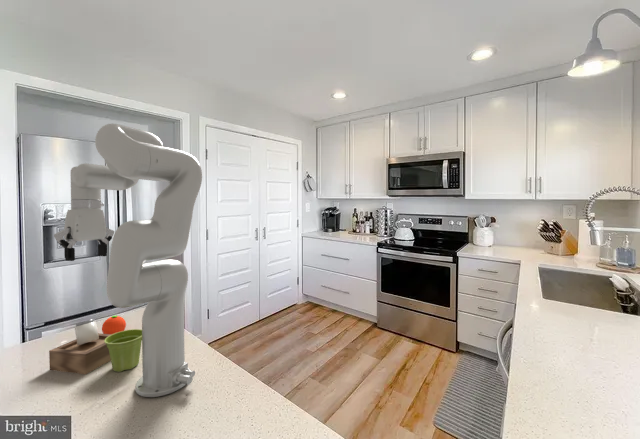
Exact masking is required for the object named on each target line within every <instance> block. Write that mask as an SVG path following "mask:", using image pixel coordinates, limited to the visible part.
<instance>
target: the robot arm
mask: <svg viewBox="0 0 640 439" xmlns="http://www.w3.org/2000/svg"><path fill="white" fill-rule="evenodd" d="M94 140H95V141H94V143H95V144H94V145H95V147H96V150H97V152H98V153H99V155H100V156H101V158H102V159H104V163H105V165H103V164H94V163H86V162H85V163H81V164H78V165H77V166H73V167H71V169H70V209H67V212H66V214H65V215H66V216H65V220H64V229H62V230H60V231H58V232H56V233H54V234H53V237H54V239H55V240H56V241H57V244H59V246H61V247H62V248H63V249H64V253H63V254H64V259H65V261H67V262H73V261H75V260H76V253H75V252H76V249H75V247H74V246H75V244H76V243H77V242H84V241H85V242H87V241H88V242H89V241H97V242H98V245H97V256H98V257H107V256H108V245H109V244H110V241H112V243H111V247H110V255H109V256H110V257H109V263H108V264H109V265H108V272H107V280H106V295H107V299H108V300H109V302H110V304H111V305H112V306H114V307H116V308H119V309H121V308H122V309H125V308H131V307H134V306H138V305H143V304H146V306H145V308H144V311H143V313H142V318H141V330H142V342H141V347H142V348H141V351H142V352H141V354H142V355H141V357H142V358H141V360H142V363H141V364H142V376H141V377H140V378H138V380H137V381H136V382H135V392H136V394H137V395H139V396H141V397H144V398H145V397H146V398H155V397H156V398H157V397H162V396H166V395H169V394H172V393H174V392H176V391H179V390H180V389H182V388H183V387H185V386H186V385H191V383H192V382H193V379H194V378H193V377H194V376H196V375H195V374H196V372H195V370H191V369H190V368H189V365H188V364H189V362H186V361H185V298H186V291H187V286H188V281H189V273H188V269H187V266H185V264H184V263H183V262H181V261H180V260H178V259H168V258H173V257H177V256H181V255H182V254H183V253H184V252H185V250H186V248H187V246H188V242H189V237H190V232H191V224H192V219H193V213H194V207H195V204H196V200H197V197H198V195H199V192H200V190H201V186H202V182H203V171H202V170H203V169H202V167H201V164H200V162H199V161H198V159H197V158H196V157H195V156H193V155H192V154H190V153H188V152H185V151H184V150H179V149H176V148H171V147H166V146H164V145H163V142H162V141H161V139H160V138H159V137H158V136H157V135H155V134H153V133H152V132H149V131H146V130H143V129H138V128H133V127H130V126H126V125H123V124H117V123H107V124H104V125H103V126H101V127H100V128H99V130H97V133H96V135H95V139H94ZM139 180H142V181H143V180H144V181H145V180H146V181H154V182H166V183H169V184H168V185H166V187H165V188H164V189H163V190H162V191H161V192H160V193H159V195H158V196H157V197H156V199H155V203H154V209H153V210H154V211H153V214H152V217H151V218H149V219H135V220H129V221H125V222H123V223H122V224H120V225H119V226H118V227H117V229H116V230H113V229H111V228H109V227H107V225H106V219H105V213H104V210H103V209H102V207H104V206H105V203H104V202H102V195H101V194H102V190H105V191H106V190H108V191H109V190H110V191H125V190H128V189H130V188H132V187H134V186H135V185H136V184H138V183H139Z"/></svg>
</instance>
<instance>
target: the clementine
mask: <svg viewBox="0 0 640 439" xmlns="http://www.w3.org/2000/svg"><path fill="white" fill-rule="evenodd" d="M126 326H127V322H126V320H125V318H124V317H122V316H120V315H112V316H110V317H108V318H107V319H105V321H103V323H102V327H101V332H102V334H114V333H117V332H121V331H125V329H126V328H127V327H126Z"/></svg>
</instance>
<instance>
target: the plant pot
mask: <svg viewBox="0 0 640 439" xmlns="http://www.w3.org/2000/svg"><path fill="white" fill-rule="evenodd" d="M104 342H105V344H107V347H108V349H109V353H110V358H111V361H110V362H111V363H110V364H111V368H112V370H113V371H114V372H123V371H126V370H131V369H133V368H135V367H137V366H138V365H139V362H140V357H141V350H142V348H141V347H142V328H141V329H139V328H132V329H127V330H124V331H121V332H117V333H114V334H112V335H110V336H108V337H107V338H106V339H105V340H104Z"/></svg>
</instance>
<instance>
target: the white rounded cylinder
mask: <svg viewBox="0 0 640 439" xmlns="http://www.w3.org/2000/svg"><path fill="white" fill-rule="evenodd" d="M74 333H75V340H77V346H78V345H81V344H84V343H87V342H90V341H93V340H97V339H99V334H98V333H99V328H98V324H97V320H95V318H92V319H88V320H84V321H80V322H77V323H75V327H74Z"/></svg>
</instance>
